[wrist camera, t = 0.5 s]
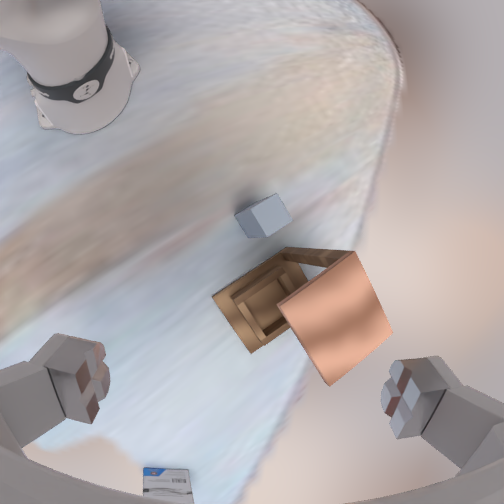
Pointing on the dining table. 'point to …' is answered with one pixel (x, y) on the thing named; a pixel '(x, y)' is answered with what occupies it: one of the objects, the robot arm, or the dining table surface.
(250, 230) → the peg
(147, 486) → the ink box
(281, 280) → the wooden frame stand
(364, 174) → the dining table surface
